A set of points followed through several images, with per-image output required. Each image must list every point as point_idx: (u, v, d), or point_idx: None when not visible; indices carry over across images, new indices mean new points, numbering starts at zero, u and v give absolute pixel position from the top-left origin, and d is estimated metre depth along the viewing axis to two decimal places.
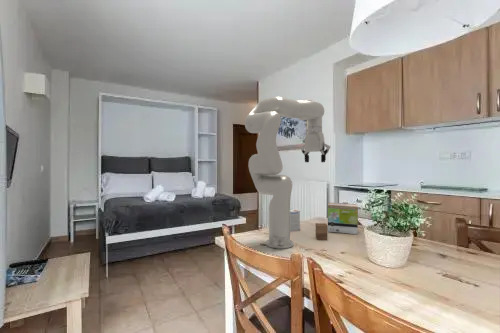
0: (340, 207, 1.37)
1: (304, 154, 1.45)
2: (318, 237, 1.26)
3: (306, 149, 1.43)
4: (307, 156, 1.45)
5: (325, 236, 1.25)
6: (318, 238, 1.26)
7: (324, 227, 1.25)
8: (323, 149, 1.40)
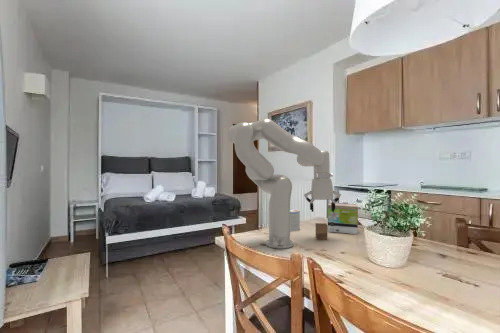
0: (340, 207, 1.37)
1: None
2: (318, 237, 1.26)
3: None
4: (331, 204, 1.27)
5: (325, 236, 1.25)
6: (318, 238, 1.26)
7: (324, 227, 1.25)
8: None
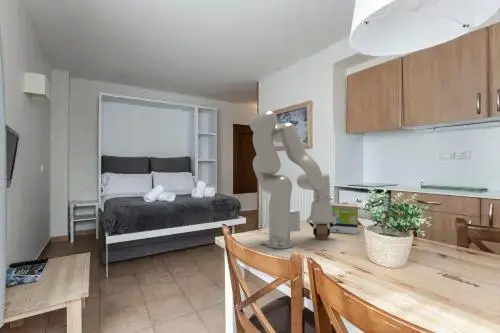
0: (340, 207, 1.37)
1: None
2: (318, 237, 1.26)
3: None
4: None
5: (325, 236, 1.25)
6: (318, 238, 1.26)
7: (324, 227, 1.25)
8: (314, 222, 1.27)
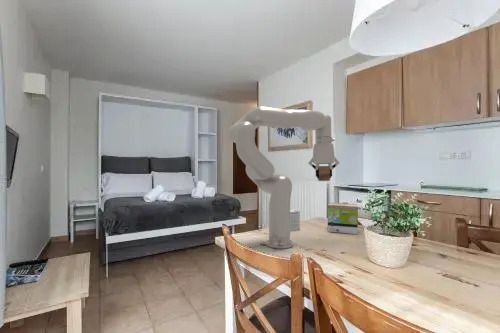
0: (340, 207, 1.37)
1: None
2: (320, 178, 1.27)
3: None
4: None
5: (327, 176, 1.26)
6: (320, 179, 1.27)
7: (326, 167, 1.26)
8: (316, 163, 1.28)
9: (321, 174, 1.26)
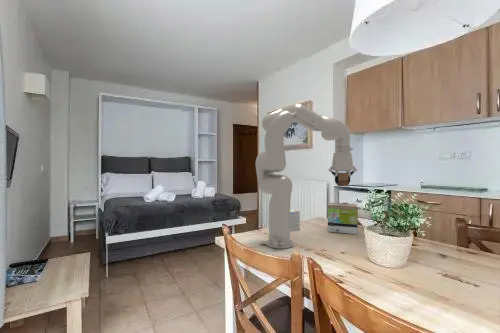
0: (340, 207, 1.37)
1: None
2: (340, 183, 1.39)
3: None
4: None
5: (346, 182, 1.39)
6: (340, 184, 1.39)
7: (345, 174, 1.39)
8: (336, 170, 1.41)
9: (340, 180, 1.39)
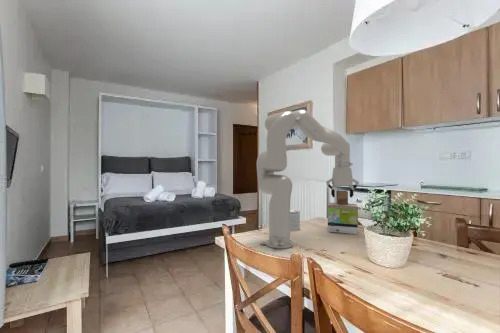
0: (340, 207, 1.37)
1: None
2: (339, 202, 1.39)
3: None
4: (350, 191, 1.41)
5: (346, 200, 1.39)
6: (339, 203, 1.39)
7: (345, 193, 1.39)
8: None
9: (340, 198, 1.39)
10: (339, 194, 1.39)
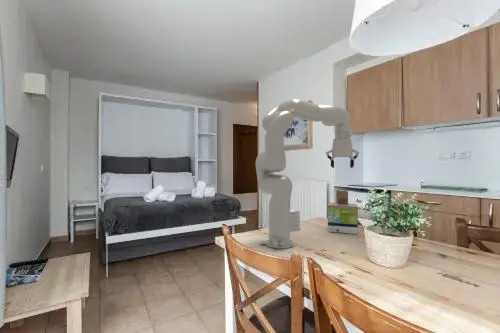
0: (340, 207, 1.37)
1: None
2: (339, 202, 1.39)
3: None
4: (350, 161, 1.41)
5: (346, 200, 1.39)
6: (339, 203, 1.39)
7: (345, 193, 1.39)
8: None
9: (340, 198, 1.39)
10: (339, 194, 1.39)
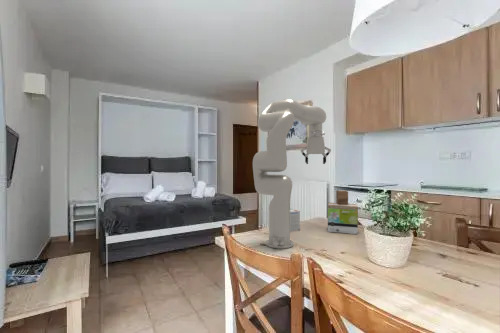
0: (340, 207, 1.37)
1: None
2: (340, 202, 1.39)
3: None
4: (323, 158, 1.53)
5: (346, 200, 1.39)
6: (340, 203, 1.39)
7: (345, 193, 1.39)
8: None
9: (340, 198, 1.39)
10: (339, 194, 1.39)
